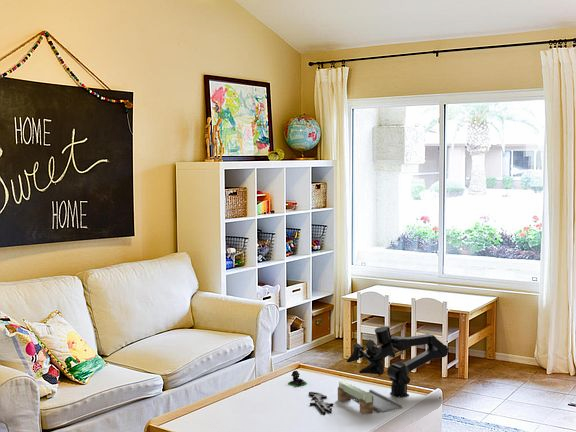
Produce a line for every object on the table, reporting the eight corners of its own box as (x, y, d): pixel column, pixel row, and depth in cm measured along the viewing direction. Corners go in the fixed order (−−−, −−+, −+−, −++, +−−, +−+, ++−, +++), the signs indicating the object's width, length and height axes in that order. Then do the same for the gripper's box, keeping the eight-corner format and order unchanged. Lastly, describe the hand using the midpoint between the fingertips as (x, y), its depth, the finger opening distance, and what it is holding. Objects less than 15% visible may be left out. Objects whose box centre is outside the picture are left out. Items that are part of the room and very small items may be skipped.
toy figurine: (291, 388, 342) (291, 376, 341) (284, 382, 351) (284, 370, 350) (311, 385, 345) (311, 373, 345) (303, 379, 355) (302, 368, 354)
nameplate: (300, 392, 331) (321, 390, 334) (300, 395, 331) (321, 393, 334) (317, 412, 305) (340, 410, 307) (317, 416, 305) (340, 414, 307)
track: (371, 392, 334) (371, 389, 334) (402, 408, 313) (402, 404, 313) (349, 396, 329) (349, 393, 328) (379, 412, 307) (379, 409, 307)
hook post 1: (347, 398, 326) (347, 383, 326) (350, 400, 324) (350, 384, 323) (337, 399, 324) (337, 384, 324) (341, 401, 321) (341, 386, 321)
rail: (338, 388, 325) (338, 381, 324) (344, 387, 326) (344, 380, 326) (366, 402, 305) (366, 396, 305) (372, 401, 306) (372, 394, 306)
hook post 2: (369, 410, 310) (369, 394, 310) (373, 412, 308) (373, 396, 307) (359, 412, 308) (359, 396, 308) (363, 414, 305) (363, 398, 305)
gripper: (367, 328, 327) (339, 341, 320) (393, 348, 313) (365, 363, 306) (368, 347, 332) (341, 361, 326) (394, 368, 318) (366, 383, 311)
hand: (353, 366), depth 317 cm, fingers open, 9 cm apart
